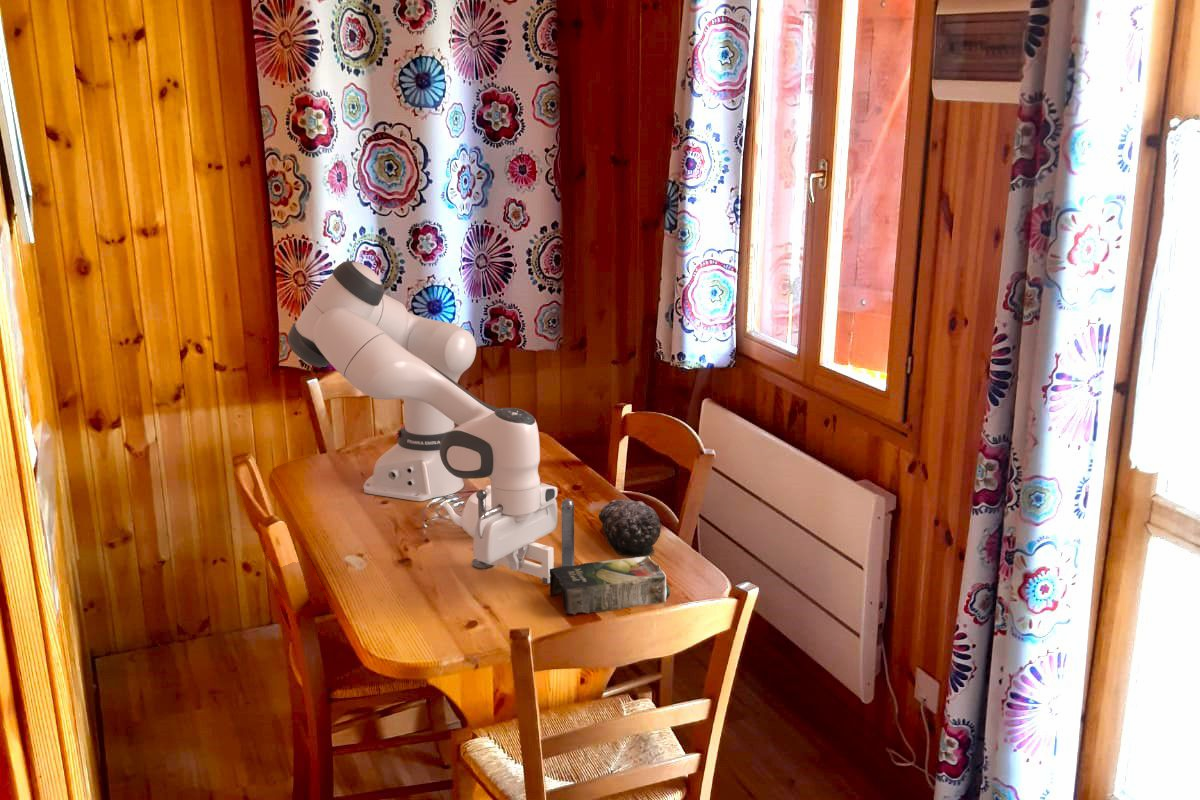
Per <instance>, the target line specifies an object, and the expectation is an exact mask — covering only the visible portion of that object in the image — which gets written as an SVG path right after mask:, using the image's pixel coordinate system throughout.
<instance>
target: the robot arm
mask: <svg viewBox="0 0 1200 800" xmlns="http://www.w3.org/2000/svg"><path fill="white" fill-rule="evenodd" d="M475 339H476V338H475V337H474V335H473V334H472V333H471V332H470V331H469V330H466V329H465V328H463V327H461V326H459V325H457V324H455V323H452V322H447V321H442V320H438V319H437V320H436V319H432V318H427V317H423V316H420V315H416V314H414V313H412V312H410V311H408V310H407V307H406V306H405V305H404V304H403V302H401V301H398V300H397V299H394V298H393V297H392V296H391V297H390V296H389V295H387V294H385V287H384V283H383V281H382V280H381V279H380V277H379V276H378V274H377V273H376V271H374V270H373V269H371V267H369V266H367V265H365V264H363V263H361V262H357V261H355V260H346V261H343V262H341V263H340V264H339V265H338V266H336V267H335V268H334V269H333V270H332V271H331V274H330V275H329V276H328V277H327V278H326V279H325V280H324V281H323V282H322V284H321V285H320V286H319V287H318V288H317V290H316V291H315V292H314V293H313V294H312V295H311V298H310V300H309V301H308V302H307V304H306V305H305V307H304V308H303V310H302V311H301V313H300V315H299V316H298V318H297V320H296V322H294V323H292V326H291V328H290V330H289V333H288V335H287V342H288V347H289V348H290V350H291V351H292V352H293V354H295V355H296V357H298V358H299V359H300V360H301V361H302V362H305V363H306V364H308V365H311V366H313V367H316V368H323V367H329V366H332V367H333V368H334V369H335V370H336V371H337V372H338V373H339V374H340V375H341V377H343V378H344V379H346V380H347V381H348V382H349V383H350V384H351V385H352V386H353V387H355V388H356V390H358V391H360V392H361V393H362V394H365V395H367V396H368V397H370V398H372V399H376V400H384V401H387V400H403V412H404V413H403V416H404V423H403V424H402V425H401V426H400V428H399V429H398V430H397V431H396V433H395V434H394V436H395V437H394V439H395V440H397V443H395V444H394V445H393V446H392V447H391V448H389V449H388V450H386V451H385V452H384V453H383V454H382V455H381V456H379V458H377V460H376V462H375V464H374V467H373V473H372V475H371V476H369V477H368V478H367V479H366V481H365V482H364V483H363V489H364V490H363V492H364V493H365V494H370V495H376V496H383V497H390V498H394V499H400V500H401V499H402V500H406V501H407V500H409V501H414V502H424V501H427V500H430V499H434V498H438V497H439V498H440V497H446V496H449V495H452V494H455V493H457V492H459V491H461V490H462V489H463V488H464V485H465V482H464V480H463V479H465V480H467V479H470V480H473V479H476V480H477V479H484V478H488V479H489V480H490V485H491V507H492V509H490V510H487V511H485V512H483V513H482V516H481V517H480V518H479V520H478V521H477V524H476V528H475V534H474V538H473V546H472V547H473V549H472V550H473V552H472V553H473V557H474V559H476V560H478V561H481V562H484V563H488V564H491V563H493V562H495V561H497V560H499V559H500V558H502V557H504V556H506V557H507V559H508V560H509V570H510V571H512V572H517V571H518V570H519V569H521V568H523V567H524V560H525V558H526V557H525V556H526V553H527V550H528V544H530V543H532V542H535V541H537V540H539V539H541V538H543V537H545V536H547V535H549V534H551V533H553V532H554V531H555V529H556V527H557V525H558V502H557V501H558V500H557V499H556V498H557V497H558V487H556V486H554V485H552V484H551V485H550V484H548V483H544V482H541V478H540V477H541V476H540V475H539V465H540V462H541V447H540V446H541V444H540V434H539V429H538V427H539V426H538V423H537V421H536V418H535V417H534V416H533V415H532V414H531V413H529V412H528V411H526V410H524V409H522V408H521V409H520V408H516V407H502V408H499V407H497V406H493V405H490V404H488V403H486V402H484V401H482V400H481V399H479V398H478V397H477V396H475V395H474V394H472V393H471V392H469V391H468V390H467V389H465V388H464V387H463V386H462V385H460V384H459V383H458V382H459V380H460V378H461V376H462V374H463V373H464V372H465V371H468V369H469V368H470V367H471V366H472V364H473V363H474V360H475V357H476V356H477V355H476V354H477V343H476V340H475Z"/></svg>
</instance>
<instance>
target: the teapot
mask: <svg viewBox="0 0 1200 800" xmlns="http://www.w3.org/2000/svg"><path fill="white" fill-rule="evenodd" d="M484 490H485V491H486V493H487V497H486V498H485V501H486V511H487V510H490V509H492V507H491V484H489V485H487V486H485V489H484ZM476 493H477V491H476V492H474V493H472V494H470V496H469V497H468V499H467V501H466V502H465V505H464V508H463V511H462V513H461V515H459V514H457V513H456V512H455V510H454V509H453V507H452V506H451V505H450V503H448V501H446V502H445V501H444V502H442V503H440V504H439V506H442V507H443V508H444V509H445V510H446V511H447V513H448V516H449V518H450V519H451V520H452V522H453V523H454V524H455V525H456V526H459V527H462V528H463V531H465V532H466V533H467V534H468V535H469V536H471V538H473V539H474V534H475V528H476V524H477V521H478V520H479V517H478V498H477V496H476Z"/></svg>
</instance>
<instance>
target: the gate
mask: <svg viewBox="0 0 1200 800" xmlns="http://www.w3.org/2000/svg"><path fill="white" fill-rule="evenodd" d="M554 549H555V548H554V546H553V547H552V546H550V545H545V544H542V543H539V542H535V541H533V542H532V543H530V544H528V550H527V553H526V556H525V558H526V559H524V567H523V568H521V569H519V570H517V571H518V572H521V573H523V574H527V575H530V576H533V577H536V578H540V579H541V582H542V584H544V585H547V586H550V569H552V568H555V567H554V566H555V564H554V563H555V562H554V555H555V554H554V553H555V551H554ZM527 559H530V560H533V561H536V562H539V563H540V564H539V563H535V562H533V561H530V560H527ZM491 565H494V567H498V566H503V567H505V568H509V560H508V559H507V557H506V556H504V557H502V558H500V559H499V560H497V561H495V562H493V563H491ZM509 569H510V568H509Z"/></svg>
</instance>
